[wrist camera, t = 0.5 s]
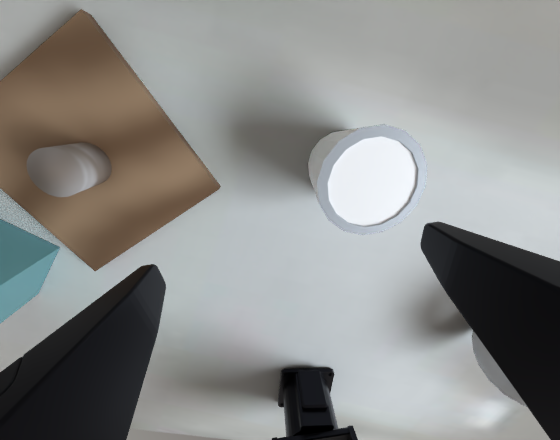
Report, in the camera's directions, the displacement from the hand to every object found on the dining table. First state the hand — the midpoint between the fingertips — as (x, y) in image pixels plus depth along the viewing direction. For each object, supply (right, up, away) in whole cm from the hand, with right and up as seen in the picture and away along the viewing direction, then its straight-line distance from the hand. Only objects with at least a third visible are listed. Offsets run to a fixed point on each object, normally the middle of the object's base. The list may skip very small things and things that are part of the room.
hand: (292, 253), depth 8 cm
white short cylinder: (+5, +6, +13) cm, 16 cm away
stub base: (-15, +6, +12) cm, 20 cm away
